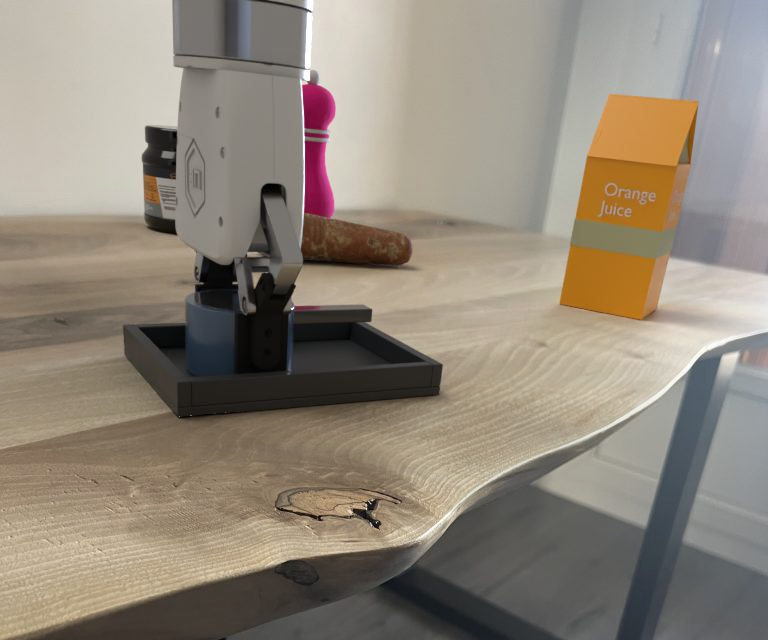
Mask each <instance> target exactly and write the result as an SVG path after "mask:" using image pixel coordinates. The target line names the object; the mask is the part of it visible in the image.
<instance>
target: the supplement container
mask: <svg viewBox="0 0 768 640" xmlns="http://www.w3.org/2000/svg"><path fill="white" fill-rule="evenodd" d="M177 128H178V126H175V125H161V124H160V125H159V124H147V125H145V126H144V142H145V143H146V144H147V147H146V148H145V149H144V151H143V152H142V153H141V163H142V180H143V183H142V184H143V210H144V212H143V220H144V222H145V224H146V225H147V226H148V227H149V228H151V229H153V230H155V231H160V232H162V233H163V232H165V233H170V234H177V232H176V226H175V205H176V156H177Z"/></svg>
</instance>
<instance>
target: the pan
mask: <svg viewBox="0 0 768 640" xmlns="http://www.w3.org/2000/svg"><path fill="white" fill-rule="evenodd" d="M235 312H242V309H241V303H240V296H239V290H234V289H217V290H205V291H199V292H195V291H194V292H192V293H188V294H187V295H186V296H185V297H184V323H185V355H186V369H187V370H188V372H190V373H191V374H193V375H194V376H197V377H201V376H216V375H232V374H235V373H234V350H235ZM372 320H373V308H371V307H369V306H367V305H365V304H325V305H324V304H322V305H321V304H320V305H319V304H318V305H295V304H294V302H293V301H292V310H291V313H290V314H289V321H288V346H287V371H292V351H293V330H294V325H298V324H327V323H356V322H365V323H372Z"/></svg>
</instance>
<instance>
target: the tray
mask: <svg viewBox="0 0 768 640" xmlns="http://www.w3.org/2000/svg"><path fill="white" fill-rule="evenodd" d="M122 329H123V330H122V335H123V346H124V347H123V353H124V354H123V355H124V356H125V357H126V358H127V359H128V361H129V362H130V363H131V364H132V365H133V367H134V368H135V369H136V370H137V371H138V372H139V373H140V375H141V376H142V377H143V378H144V379H145V380H146V382H147V383H148V384H149V385H150V386H151V388H153V390H154V391H155V393H157V395H159V396H158V397H160V398H161V399H162V401H163V402H164V401H165V402H166V403H165V402H164V403H165V404H166V405H167V407H169V409H170V408H171V409H172V410H171V409H170V410H171V411H172V412H173V414H174V415H175V416H176V415H177V416H178V417H177V416H176V417H177V418H179V416H180V418H184V417H183V416H190V415H192V416H191V417H196V416H195V415H202V414H213V415H215V414H214V413H225V412H226V413H225V414H231V413H230V412H236V413H245V412H244V411H247V412H256V411H258V412H259V411H268V410H280V408H281V409H290V408H302V407H313V406H314V407H315V406H324V405H325V406H327V405H334V404H336V405H337V404H349V403H360V402H370V401H383V400H393V399H403V398H413V397H414V398H415V397H428V396H436V395H440V391H441V383H442V377H443V368H444V363H441V362H439V361H437V360H436V359H434V358H432V357H430V356H428V355H427V354H425V353H423V352H421V351H420V350H417V349H415V348H413V347H412V346H410V345H408V344H406V343H404V342H402V341H400V340H399V339H397V338H395V337H393V336H391V335H390V334H388V333H386V332H384V331H382V330H380V329H379V328H376V327H374V326H373V325H371V324H369V323H368V322H356V323H327V324H298V325H294V330H293V351H292V371H278V372H262V373H247V374H232V375H216V376H201V377H197V376H194V375H193V374H191V373H190V372H188V370H187V369H186V355H185V322H167V323H166V322H165V323H164V322H163V323H136V324H135V323H129V324H127V323H126V324H123V325H122ZM240 411H241V412H240ZM193 415H194V416H193ZM181 416H182V417H181ZM202 416H203V415H202Z"/></svg>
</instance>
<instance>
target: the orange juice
mask: <svg viewBox="0 0 768 640" xmlns="http://www.w3.org/2000/svg"><path fill="white" fill-rule="evenodd" d="M699 103H700V101H699V100H686V99H677V98H664V97H652V96H643V95H641V96H639V95H630V94H629V95H628V94H618V93H617V94H616V93H609V94H608V97H607V100H606V102H605V104H604V108H603V110H602V114H601V116H600V119H599V122H598V125H597V127H596V130H595V133H594V135H593V138H592V141H591V144H590V147H589V149H588V152H587V154H586V158H585V159H586V160H585V165H584V171H583V174H582V181H581V187H580V191H579V197H578V203H577V208H576V211H575V212H576V213H575V217H574V221H573V226H572V231H571V237H570V243H569V245H570V246H569V249H568V250H569V251H568V256H567V261H566V266H565V272H564V277H563V283H562V288H561V293H560V299H559V304H558V305H562V306H568V307H572V308H579V309H583V310H588V311H594V312H598V313H603V314H610V315H614V316H620V317H625V318H630V319H635V320H639V321H642V320H644V319H645V318H646V317H648V316H649V315H650V314H652V313H653V312H655V311H656V310H657V309H658V305H659V301H660V297H661V293H662V288H663V284H664V279H665V276H666V271H667V268H668V264H669V260H670V255H671V252H672V249H673V245H674V240H675V237H676V232H677V228H678V221H679V217H680V213H681V210H682V205H683V200H684V197H685V193H686V188H687V184H688V180H689V175H690V172H691V168H692V156H693V148H694V141H695V134H696V126H697V118H698V111H699V110H698V109H699Z"/></svg>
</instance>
